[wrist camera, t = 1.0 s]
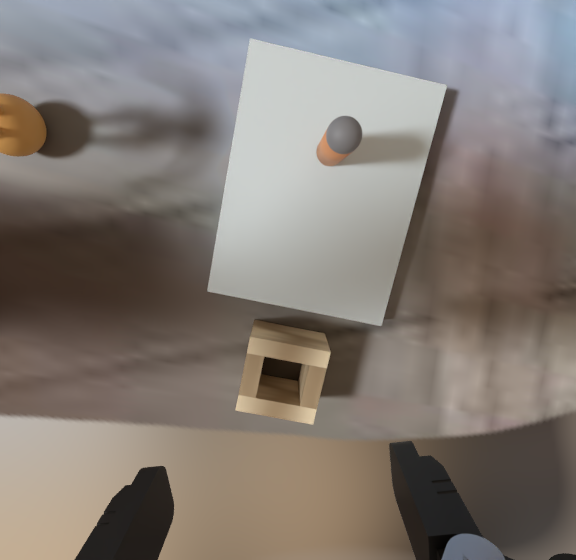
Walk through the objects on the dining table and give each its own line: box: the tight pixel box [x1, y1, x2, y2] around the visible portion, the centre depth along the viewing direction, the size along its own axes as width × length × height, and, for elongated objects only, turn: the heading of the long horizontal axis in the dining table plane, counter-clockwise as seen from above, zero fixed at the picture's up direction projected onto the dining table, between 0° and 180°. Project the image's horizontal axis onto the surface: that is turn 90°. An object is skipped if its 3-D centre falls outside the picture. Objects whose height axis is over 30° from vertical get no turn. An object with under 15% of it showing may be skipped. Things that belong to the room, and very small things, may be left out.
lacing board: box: [207, 39, 447, 326], centre depth 24 cm, size 14×18×8 cm
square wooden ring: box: [236, 320, 331, 424], centre depth 29 cm, size 6×6×4 cm
